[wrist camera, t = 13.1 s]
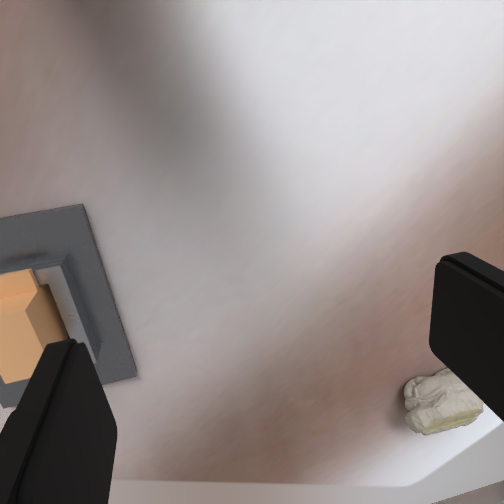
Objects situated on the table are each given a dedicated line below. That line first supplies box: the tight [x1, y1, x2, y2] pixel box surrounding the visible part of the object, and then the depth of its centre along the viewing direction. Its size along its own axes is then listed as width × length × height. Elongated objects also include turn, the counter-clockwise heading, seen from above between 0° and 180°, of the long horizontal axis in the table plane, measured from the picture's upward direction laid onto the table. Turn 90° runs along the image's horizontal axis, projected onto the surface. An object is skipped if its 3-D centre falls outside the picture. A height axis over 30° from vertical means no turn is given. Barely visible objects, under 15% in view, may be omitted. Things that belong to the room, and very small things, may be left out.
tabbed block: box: [0, 268, 69, 384], centre depth 34 cm, size 10×4×6 cm, turn 8°
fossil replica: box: [404, 367, 483, 435], centre depth 50 cm, size 12×8×10 cm
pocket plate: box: [0, 204, 137, 408], centre depth 36 cm, size 20×14×3 cm
